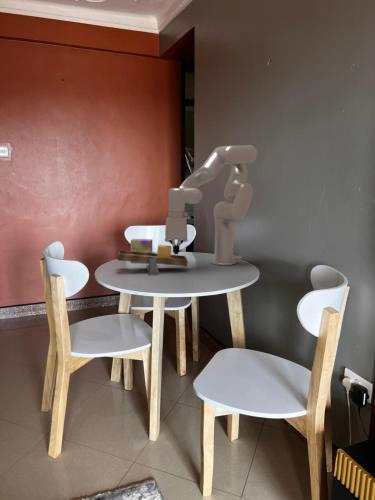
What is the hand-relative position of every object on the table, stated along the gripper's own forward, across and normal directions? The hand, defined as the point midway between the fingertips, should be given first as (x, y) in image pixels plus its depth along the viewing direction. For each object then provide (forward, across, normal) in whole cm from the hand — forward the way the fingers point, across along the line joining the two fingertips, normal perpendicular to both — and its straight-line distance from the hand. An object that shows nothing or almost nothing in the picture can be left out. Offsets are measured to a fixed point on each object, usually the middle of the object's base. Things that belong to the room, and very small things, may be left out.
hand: (176, 253), depth 179 cm
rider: (+2, +6, 0) cm, 6 cm away
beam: (+3, +11, 0) cm, 12 cm away
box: (+8, +16, -19) cm, 26 cm away
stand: (+8, +11, 0) cm, 14 cm away
